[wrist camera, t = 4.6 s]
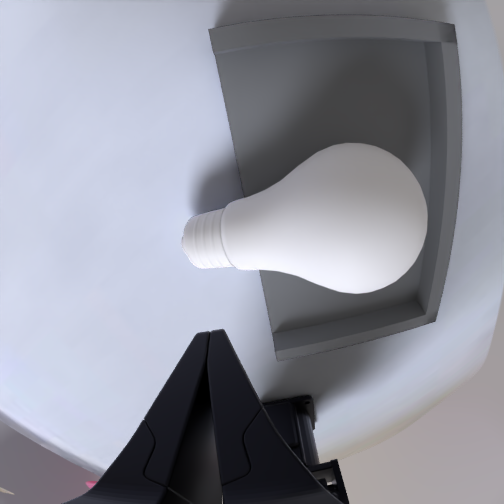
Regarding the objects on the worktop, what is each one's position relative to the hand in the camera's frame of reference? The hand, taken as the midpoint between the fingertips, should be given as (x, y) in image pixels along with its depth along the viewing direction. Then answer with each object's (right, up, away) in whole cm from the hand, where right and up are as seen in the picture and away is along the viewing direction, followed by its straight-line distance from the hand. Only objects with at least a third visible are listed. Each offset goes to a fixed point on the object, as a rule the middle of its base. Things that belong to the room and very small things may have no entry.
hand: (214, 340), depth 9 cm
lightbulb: (-2, +3, +6) cm, 7 cm away
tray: (+6, +5, +7) cm, 11 cm away
